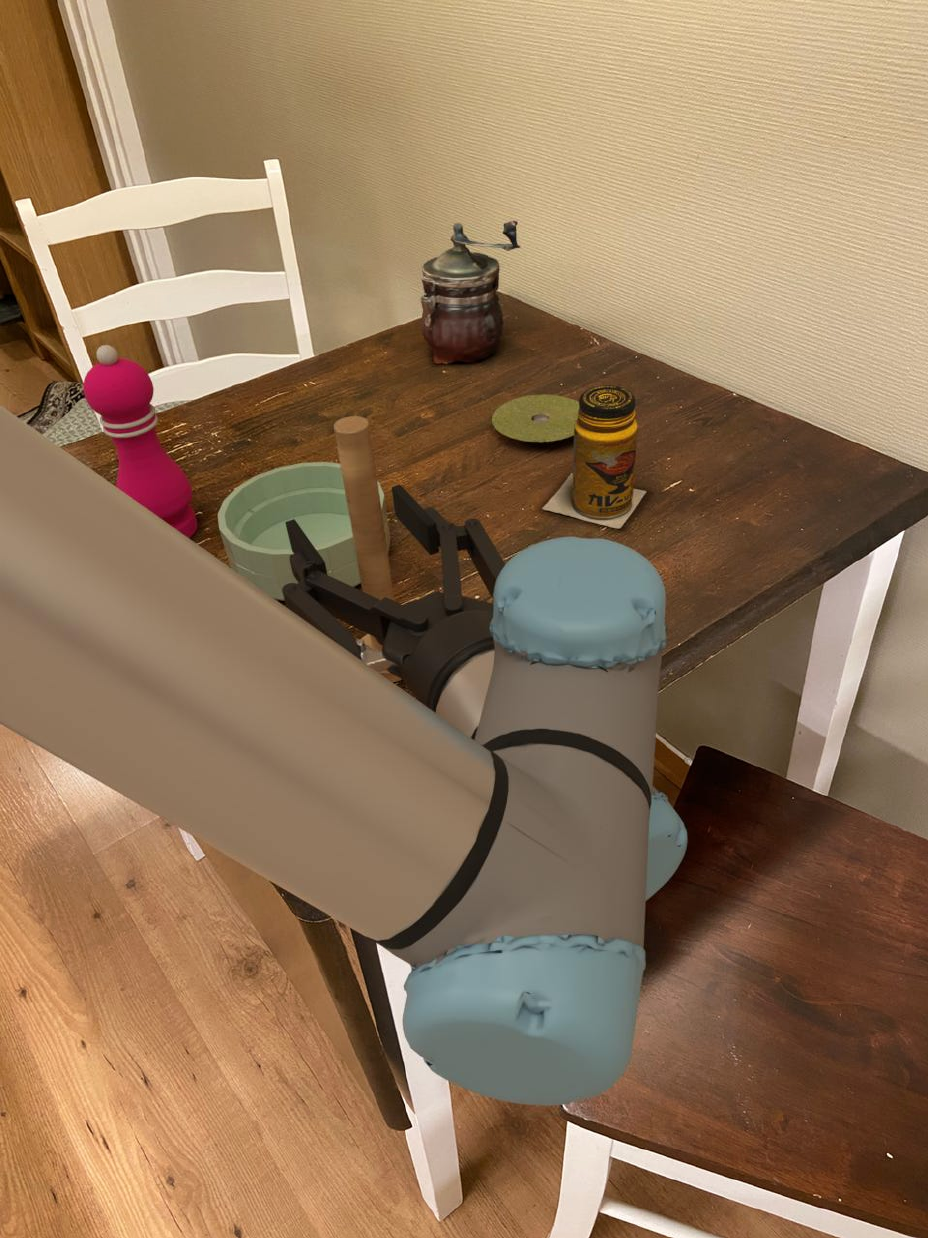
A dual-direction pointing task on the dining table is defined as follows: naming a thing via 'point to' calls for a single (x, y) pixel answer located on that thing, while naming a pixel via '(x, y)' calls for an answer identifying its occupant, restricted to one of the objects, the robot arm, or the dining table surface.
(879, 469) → the dining table surface
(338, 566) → the bowl
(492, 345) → the coffee grinder
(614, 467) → the condiment
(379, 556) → the wooden post with base
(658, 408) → the dining table surface
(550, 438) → the olive green flat disc
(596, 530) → the dining table surface
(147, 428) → the pepper mill
